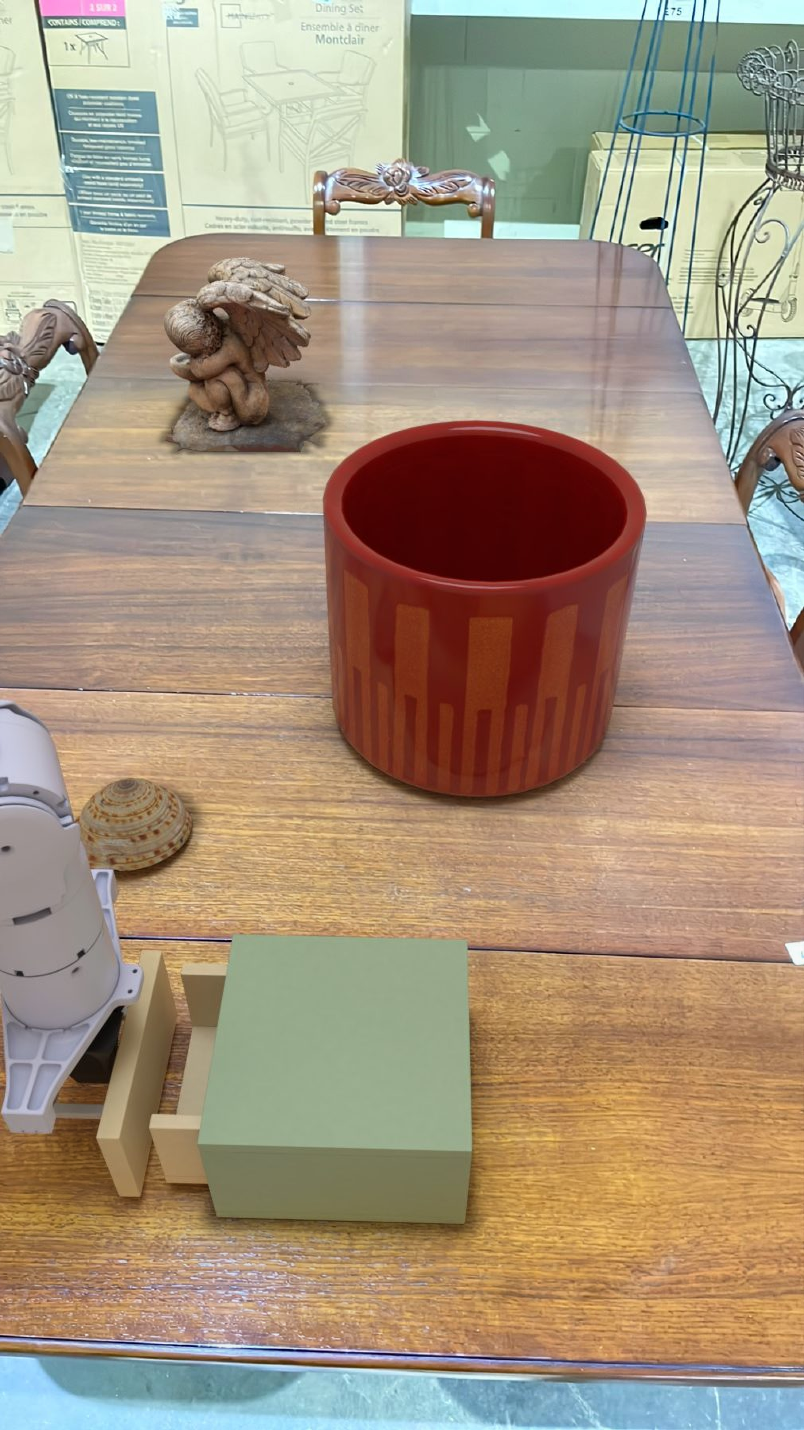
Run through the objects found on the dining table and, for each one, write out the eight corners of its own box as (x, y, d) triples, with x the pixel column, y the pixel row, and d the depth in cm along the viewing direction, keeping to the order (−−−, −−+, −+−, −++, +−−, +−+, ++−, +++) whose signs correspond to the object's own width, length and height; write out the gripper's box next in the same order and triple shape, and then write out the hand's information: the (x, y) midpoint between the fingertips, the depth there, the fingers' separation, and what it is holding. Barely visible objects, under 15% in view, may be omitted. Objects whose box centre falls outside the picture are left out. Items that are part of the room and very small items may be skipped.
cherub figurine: (189, 380, 135) (168, 231, 123) (332, 383, 134) (326, 234, 122) (160, 450, 122) (134, 292, 110) (319, 453, 121) (311, 295, 109)
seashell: (41, 848, 76) (91, 748, 79) (74, 873, 81) (121, 777, 84) (142, 881, 73) (190, 777, 76) (170, 905, 78) (214, 806, 81)
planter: (647, 790, 83) (696, 573, 69) (349, 824, 80) (340, 604, 67) (567, 611, 100) (595, 408, 86) (319, 634, 97) (307, 428, 83)
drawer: (28, 1194, 59) (-3, 1135, 54) (79, 1011, 67) (56, 947, 63) (347, 1203, 59) (342, 1144, 54) (358, 1018, 67) (355, 954, 63)
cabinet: (216, 1217, 59) (196, 1143, 53) (246, 1015, 68) (232, 933, 63) (464, 1224, 59) (472, 1151, 53) (461, 1020, 68) (467, 939, 62)
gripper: (89, 1066, 47) (139, 1202, 56) (155, 817, 57) (188, 965, 66) (-73, 1062, 47) (4, 1199, 56) (23, 814, 57) (74, 962, 67)
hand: (96, 1072), depth 61 cm, fingers closed, pressing on drawer
